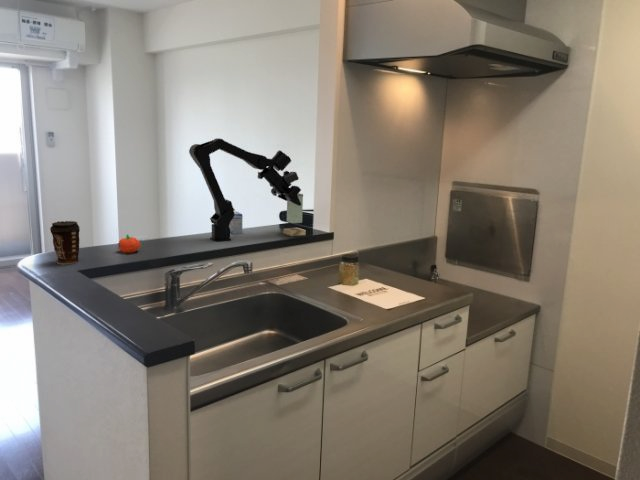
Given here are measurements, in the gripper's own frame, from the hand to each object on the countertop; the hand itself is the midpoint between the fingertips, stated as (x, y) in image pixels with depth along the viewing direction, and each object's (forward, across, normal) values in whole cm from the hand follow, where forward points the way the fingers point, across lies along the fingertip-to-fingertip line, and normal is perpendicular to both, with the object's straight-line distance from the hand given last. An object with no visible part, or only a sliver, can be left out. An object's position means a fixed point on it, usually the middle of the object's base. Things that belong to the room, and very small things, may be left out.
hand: (297, 204), depth 225 cm
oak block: (+9, 0, +10) cm, 13 cm away
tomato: (-40, -9, +60) cm, 73 cm away
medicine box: (-7, +13, +26) cm, 30 cm away
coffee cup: (-55, -17, +74) cm, 94 cm away
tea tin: (+4, 0, +6) cm, 8 cm away
